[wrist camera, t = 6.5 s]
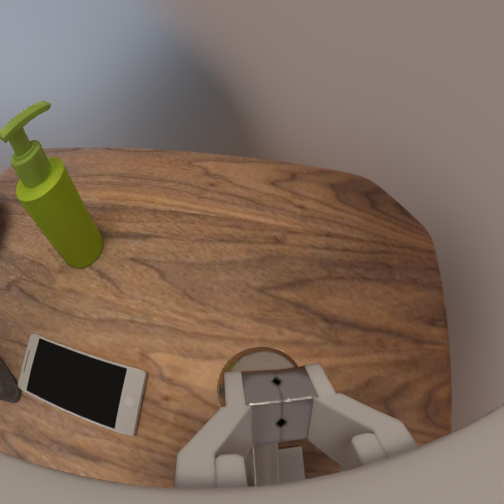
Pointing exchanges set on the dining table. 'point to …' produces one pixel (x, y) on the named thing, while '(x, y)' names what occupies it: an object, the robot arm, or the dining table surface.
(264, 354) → the lever
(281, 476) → the metal pivot stand
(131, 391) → the smartphone
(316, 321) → the dining table surface
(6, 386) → the flask
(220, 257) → the dining table surface
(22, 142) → the soap dispenser
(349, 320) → the dining table surface
